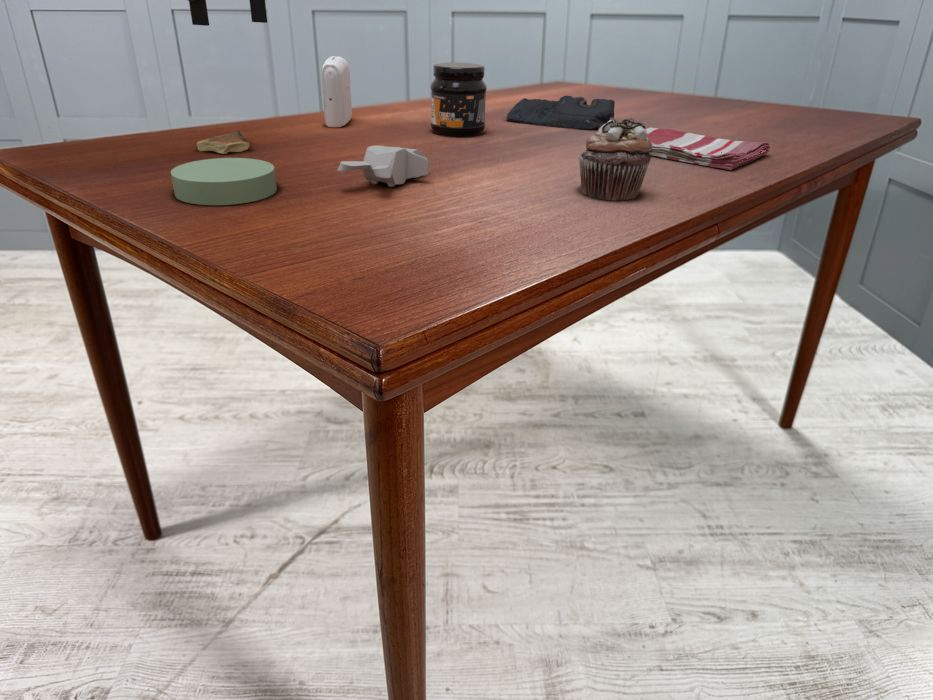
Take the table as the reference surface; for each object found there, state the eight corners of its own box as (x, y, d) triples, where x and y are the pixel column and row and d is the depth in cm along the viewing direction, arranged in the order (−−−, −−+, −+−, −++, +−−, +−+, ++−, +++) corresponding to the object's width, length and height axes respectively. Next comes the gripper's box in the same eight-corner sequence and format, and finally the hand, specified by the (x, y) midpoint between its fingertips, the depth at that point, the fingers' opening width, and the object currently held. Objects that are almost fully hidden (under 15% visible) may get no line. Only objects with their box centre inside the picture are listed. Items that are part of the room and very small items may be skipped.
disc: (163, 186, 91) (159, 164, 89) (256, 174, 97) (254, 153, 96) (191, 211, 81) (186, 186, 80) (291, 196, 88) (289, 173, 87)
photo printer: (344, 128, 130) (340, 59, 124) (322, 127, 130) (317, 58, 124) (354, 118, 139) (351, 54, 133) (334, 118, 139) (329, 53, 133)
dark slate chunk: (523, 110, 153) (524, 88, 151) (618, 119, 146) (621, 96, 144) (500, 121, 141) (501, 97, 138) (603, 131, 133) (606, 106, 131)
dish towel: (732, 171, 106) (736, 154, 105) (604, 148, 120) (606, 132, 118) (769, 155, 118) (773, 139, 116) (648, 135, 131) (650, 121, 130)
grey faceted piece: (443, 147, 98) (391, 155, 85) (441, 183, 100) (390, 195, 87) (387, 140, 101) (329, 146, 88) (386, 174, 103) (329, 185, 90)
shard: (239, 139, 119) (238, 128, 118) (274, 143, 116) (273, 133, 115) (195, 150, 110) (193, 139, 109) (232, 156, 107) (231, 144, 107)
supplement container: (419, 132, 128) (419, 64, 122) (450, 124, 136) (451, 61, 130) (465, 139, 123) (467, 69, 117) (495, 131, 131) (498, 65, 125)
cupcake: (620, 181, 99) (630, 111, 94) (658, 199, 91) (671, 123, 86) (563, 186, 96) (570, 113, 91) (597, 204, 88) (606, 126, 83)
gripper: (164, -152, 87) (191, 27, 98) (285, -125, 107) (298, 22, 118) (122, -150, 90) (154, 25, 100) (248, -123, 110) (264, 20, 120)
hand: (231, 23), depth 109 cm, fingers open, 13 cm apart
